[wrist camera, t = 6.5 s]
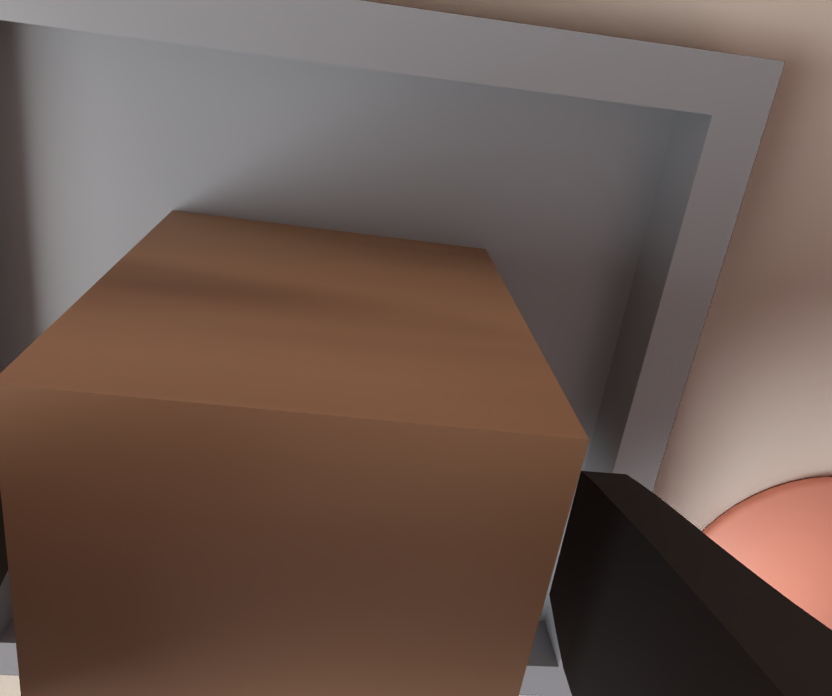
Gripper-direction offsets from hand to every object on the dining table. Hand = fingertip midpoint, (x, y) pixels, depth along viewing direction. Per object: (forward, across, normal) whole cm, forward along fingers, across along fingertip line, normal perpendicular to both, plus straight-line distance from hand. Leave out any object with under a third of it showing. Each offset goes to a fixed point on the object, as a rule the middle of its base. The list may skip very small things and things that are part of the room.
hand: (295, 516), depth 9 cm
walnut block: (+4, 0, 0) cm, 4 cm away
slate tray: (+4, 0, 0) cm, 4 cm away
